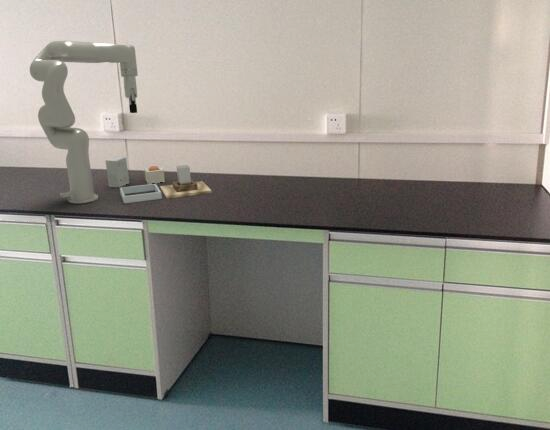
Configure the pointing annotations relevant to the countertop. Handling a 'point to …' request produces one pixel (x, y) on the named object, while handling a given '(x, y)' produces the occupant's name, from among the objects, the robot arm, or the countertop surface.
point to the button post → (154, 175)
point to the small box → (117, 171)
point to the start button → (153, 168)
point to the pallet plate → (185, 189)
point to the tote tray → (140, 196)
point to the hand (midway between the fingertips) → (133, 112)
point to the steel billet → (183, 175)
